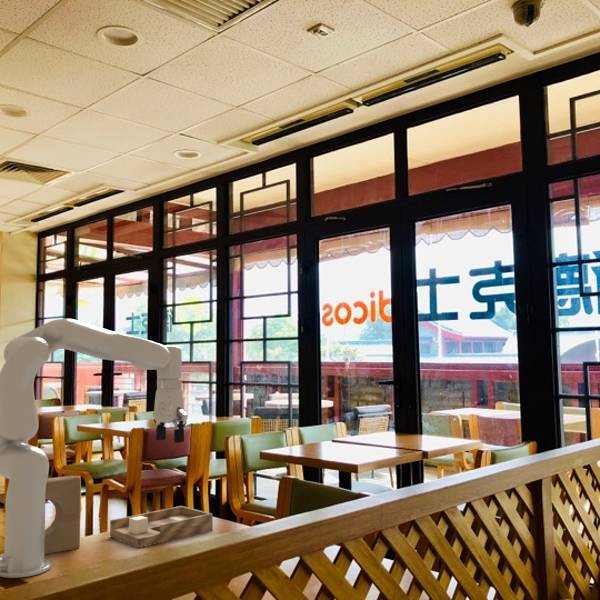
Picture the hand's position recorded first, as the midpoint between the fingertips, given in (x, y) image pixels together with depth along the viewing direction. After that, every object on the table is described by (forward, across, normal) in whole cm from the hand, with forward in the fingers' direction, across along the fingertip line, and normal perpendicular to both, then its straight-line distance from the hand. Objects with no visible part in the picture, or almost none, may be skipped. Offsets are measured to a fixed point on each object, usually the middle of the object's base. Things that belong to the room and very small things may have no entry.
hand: (170, 441), depth 200 cm
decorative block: (+28, -12, -30) cm, 43 cm away
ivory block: (+26, -4, -9) cm, 28 cm away
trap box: (+29, -5, 0) cm, 29 cm away
